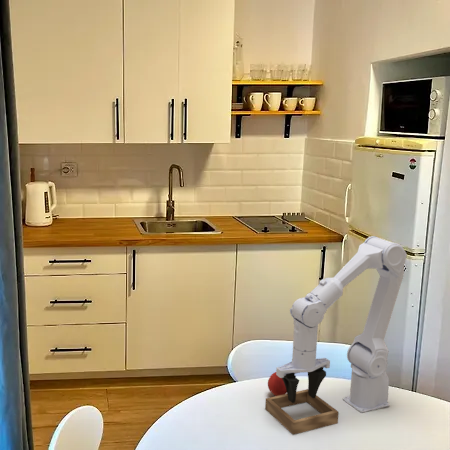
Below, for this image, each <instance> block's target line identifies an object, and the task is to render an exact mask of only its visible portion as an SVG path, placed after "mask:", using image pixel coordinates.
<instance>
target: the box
mask: <svg viewBox="0 0 450 450" xmlns="http://www.w3.org/2000/svg"><path fill="white" fill-rule="evenodd" d="M304 403H307V404H308V405H310V406H311V407H313V408H314V409H315V410H316V411H318V412H319V413H318V414H315V415H310V416H306V417H302V418H299V419H295V418H293V417H292V415H290V414H289V413H287V411H285V410H284V409H283V408H286V407H291V406H295V405H300V404H304ZM264 407H265V409H264V410H266V412H267V413H268V414H270V415H271V416H272V417H273V418H274V419H275V420H276V421H278V422H279V424H280V425H282V426H283V427H284V428H285V429H286V430H287V431H288V432H289V433H291V435H292V436H293V435H297V434H301V433H305V432H308V431H313V430H317V429H321V428H325V427H328V426H332V425H335V424H338V423H339V415H340V414H339V411H338V410H337V409H336V408H334V407H333V406H331V405H330V404H329V403H327V402H326V401H325V400H323V398H321V397H319V395H317V394H316V397H315V398H312V397H311V396H309V394H308V388H307V389H302V390H296V400H295V403H292V402H291V401H289V400H288V395H287V393H286V394H284V395H279V396H275V395H274V396H272V397H267V398H265V406H264Z"/></svg>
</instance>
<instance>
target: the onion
mask: <svg viewBox="0 0 450 450" xmlns="http://www.w3.org/2000/svg"><path fill="white" fill-rule="evenodd" d="M267 388H268V390H269V391H270V393H272V395H274V397H275V396H279V395H284V394H287V390H286V387H285V384H284V381H283V379H282V378H280V377H278V376H277V375H276V371H275V372H273V373H272V374H271V375H270V376H269V378H268V380H267Z"/></svg>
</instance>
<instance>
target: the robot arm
mask: <svg viewBox="0 0 450 450" xmlns="http://www.w3.org/2000/svg"><path fill="white" fill-rule="evenodd" d="M407 256H408V254H407V252H406V251H405V249H404V247H403V246H402V245H401V244H399V243H397V242H393V241H389V240H386V239H385V238H380V237H378V236H376V235H372V236H369V237H367V238H366V239H365V241H364V242H363V243H361V244H359V245H358V249H357V252H356V253H355V254H354V255H353V256H352V257H351V259H350V260H349V261H347V262H346V263H345V265H344V266H343V267H342V268H340V270H339V271H338V272H337V273H336V274H335V275H334V276H333V277H325V278H322V279H321V280H320V281H319V284H318V285H317V286H315V288H313V289H312V290H311V291H310V292H309V293H307V294H306V295H305V296H304V297H300V298H297V299H296V300H295V301H294V302H293V303H292V306H291V308H289V314H290V316H291V318H292V319H293V340H292V356H291V357H292V359H291V361H290V362H288V363H285V364H283V365H281V366H278V367H275V368H276V370H275V372H276V375H277V376H278V377H280V378H282V379H283V381H284V384H285V387H286V390H287V393H286V394H287V395H288V400H289V401H291V402H292V403H295V400H296V392H297V391H298V390H297V389H298V385H299V383H300V379H298V378H297V375H296V374H300V373H307V378H308V385H307V387H308V388H307V389H308V394H309V396H311V397H312V398H315V397H316V395H317V393H318V391H319V388H320V386H321V384H322V382H323V381H324V379H325V378H326V377H327V371H325V369H330V367H331V360H329V359H328V358H326V357H321V358H317V346H318V345H317V344H318V332H319V331H318V330H319V328H318V327H319V325H320V324H321V323H322V322H323V320H324V316H325V314H326V313H327V311H328V309H329V308H330V307H331V306H333V304H335V302H337V301H338V300H339V299H340V298H341V297H342V296H343V293H344V292H343V291H344V288H345V287H346V286H347V285H348V284H351V282H352V281H354V280H356V278H357V277H358V276H360V275H361V274H363V273H364V272H365V271H366V270H370V269H371V270H372V269H373V270H374V269H376V271H377V272H378V274H379V278H378V281H377V285H376V288H375V291H374V295H373V298H372V301H371V305H370V308H369V311H368V314H367V317H366V321H365V325H364V327H363V331H362V333H359V334H358V335H356V336H355V337H354V338H353V342H352V343H351V345H350V346H349V348H348V349H347V353H346V357H347V360H348V362H349V363H350V368H351V375H350V376H351V380H350V391H349V395H348V396H345V397H342V400H343V402H345V403H347V404H348V405H350V406H351V407H352V408H353V409H355V410H356V411H358V412H359V413H362V414H363V413H367V412H372V411H375V410H378V409H382V408H383V409H384V408H387V407H389V406H390V403H389V402H388V398H389V387H390V378H389V376H388V374H387V368H388V364H389V362H388V357H389V352H390V351H389V348H388V346H387V345H386V342H385V337H386V334H387V330H388V327H389V325H390V320H391V318H392V315H393V311H394V308H395V304H396V301H397V298H398V296H399V292H400V289H401V284H402V283H403V282H402V281H403V279H404V276H405V269H404V268H405V263H406V259H407Z"/></svg>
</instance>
